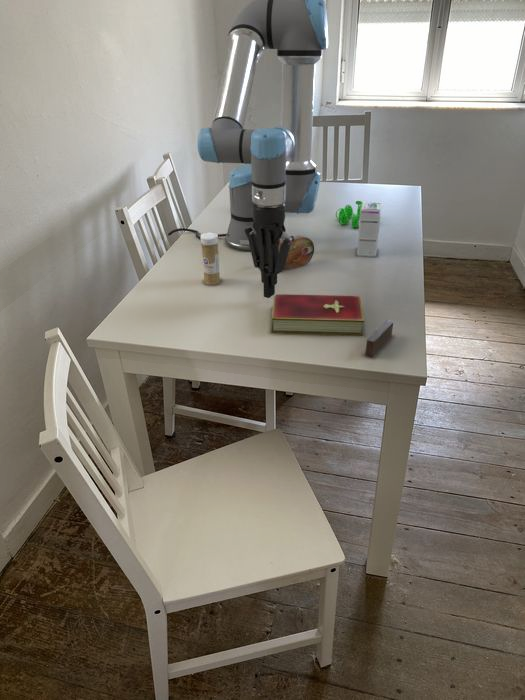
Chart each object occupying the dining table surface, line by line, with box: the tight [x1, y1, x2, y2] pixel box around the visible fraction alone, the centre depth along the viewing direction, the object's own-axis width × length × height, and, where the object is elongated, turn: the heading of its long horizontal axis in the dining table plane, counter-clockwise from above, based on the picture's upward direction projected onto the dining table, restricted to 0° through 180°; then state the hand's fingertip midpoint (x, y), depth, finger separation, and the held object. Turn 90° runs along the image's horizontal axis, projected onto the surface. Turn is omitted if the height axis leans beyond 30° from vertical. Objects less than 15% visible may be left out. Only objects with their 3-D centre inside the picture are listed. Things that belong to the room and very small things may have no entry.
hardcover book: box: [270, 293, 365, 336], centre depth 126 cm, size 12×21×4 cm, turn 86°
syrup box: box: [356, 201, 382, 258], centre depth 155 cm, size 6×6×14 cm
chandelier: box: [335, 200, 363, 229], centre depth 178 cm, size 15×15×7 cm
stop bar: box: [364, 319, 394, 358], centre depth 117 cm, size 2×10×4 cm, turn 144°
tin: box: [278, 235, 315, 271], centre depth 150 cm, size 15×3×8 cm, turn 117°
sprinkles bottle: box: [200, 232, 221, 286], centre depth 141 cm, size 5×5×14 cm
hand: (269, 295), depth 133 cm, fingers closed
